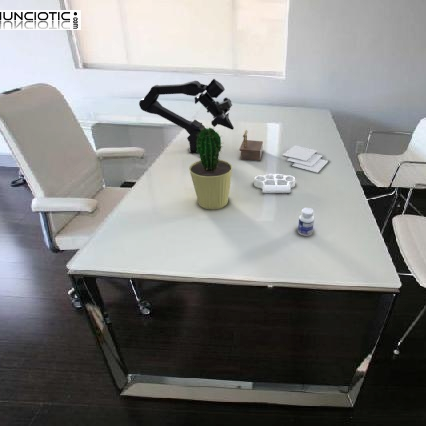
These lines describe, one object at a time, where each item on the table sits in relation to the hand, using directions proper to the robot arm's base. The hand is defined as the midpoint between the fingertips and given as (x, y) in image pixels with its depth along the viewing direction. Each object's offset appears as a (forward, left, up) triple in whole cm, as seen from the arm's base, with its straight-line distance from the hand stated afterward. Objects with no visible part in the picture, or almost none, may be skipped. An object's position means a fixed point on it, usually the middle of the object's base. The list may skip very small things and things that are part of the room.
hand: (233, 129), depth 158 cm
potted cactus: (-14, -47, -13) cm, 51 cm away
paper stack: (+36, -10, -13) cm, 40 cm away
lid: (+9, -3, -9) cm, 13 cm away
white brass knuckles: (+13, -38, -13) cm, 43 cm away
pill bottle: (+16, -72, -13) cm, 75 cm away
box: (+9, -3, -13) cm, 16 cm away
